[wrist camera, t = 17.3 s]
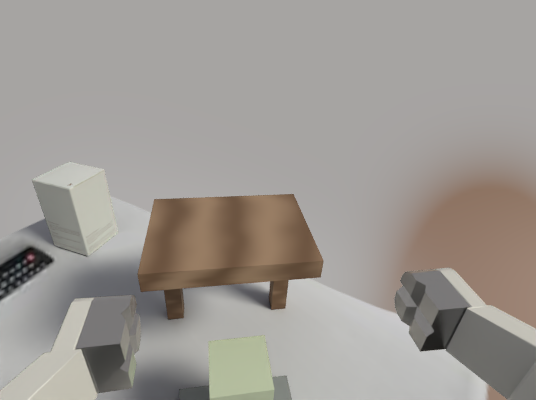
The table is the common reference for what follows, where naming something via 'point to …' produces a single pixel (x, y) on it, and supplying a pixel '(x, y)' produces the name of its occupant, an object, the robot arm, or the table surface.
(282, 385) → the slate mat
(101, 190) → the supplement box
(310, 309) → the table surface
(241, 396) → the sage block
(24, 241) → the table surface
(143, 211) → the table surface
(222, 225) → the shelf stand
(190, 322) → the table surface
